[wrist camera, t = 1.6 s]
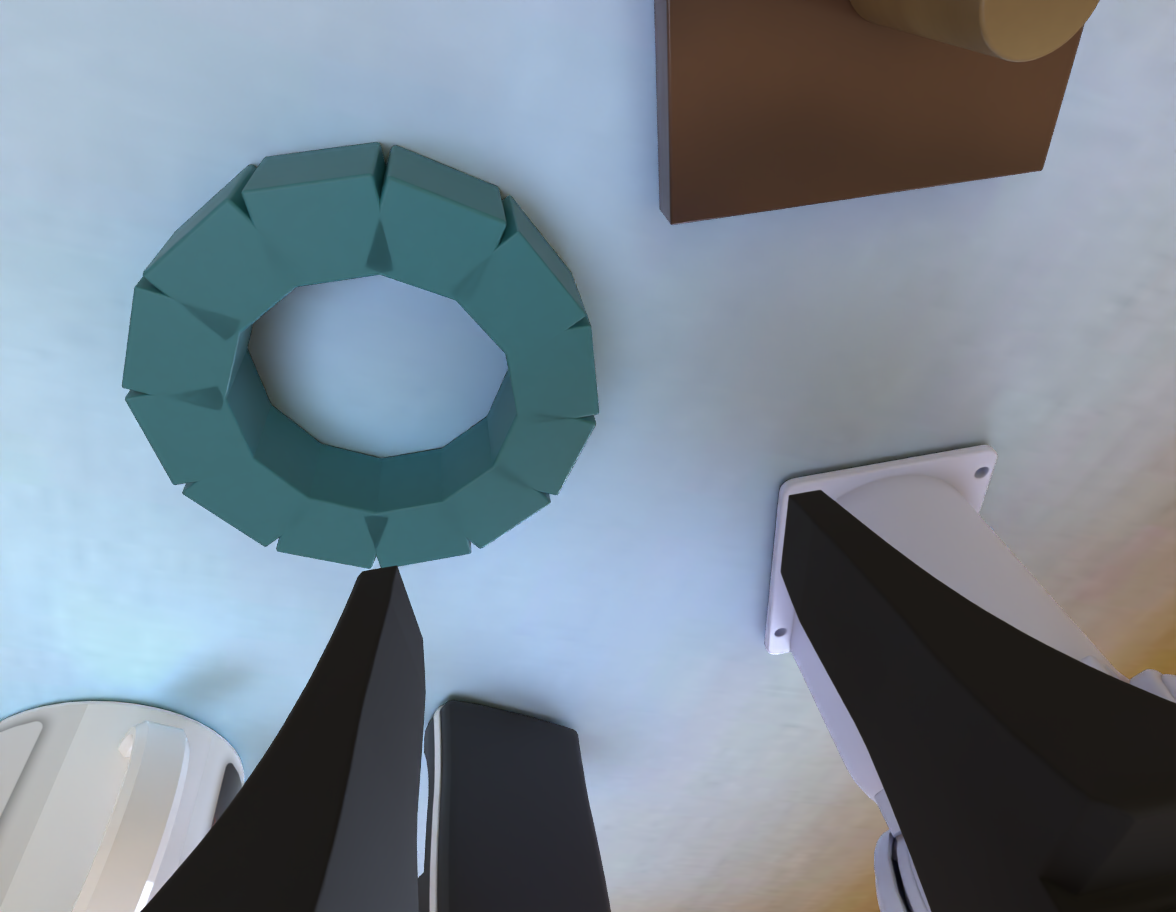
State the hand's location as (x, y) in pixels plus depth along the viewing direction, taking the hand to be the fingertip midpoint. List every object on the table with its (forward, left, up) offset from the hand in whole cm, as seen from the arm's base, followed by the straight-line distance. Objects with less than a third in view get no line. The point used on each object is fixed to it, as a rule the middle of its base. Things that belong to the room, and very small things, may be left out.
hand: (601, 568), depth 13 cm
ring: (0, +4, -9) cm, 10 cm away
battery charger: (-19, +4, -10) cm, 22 cm away
